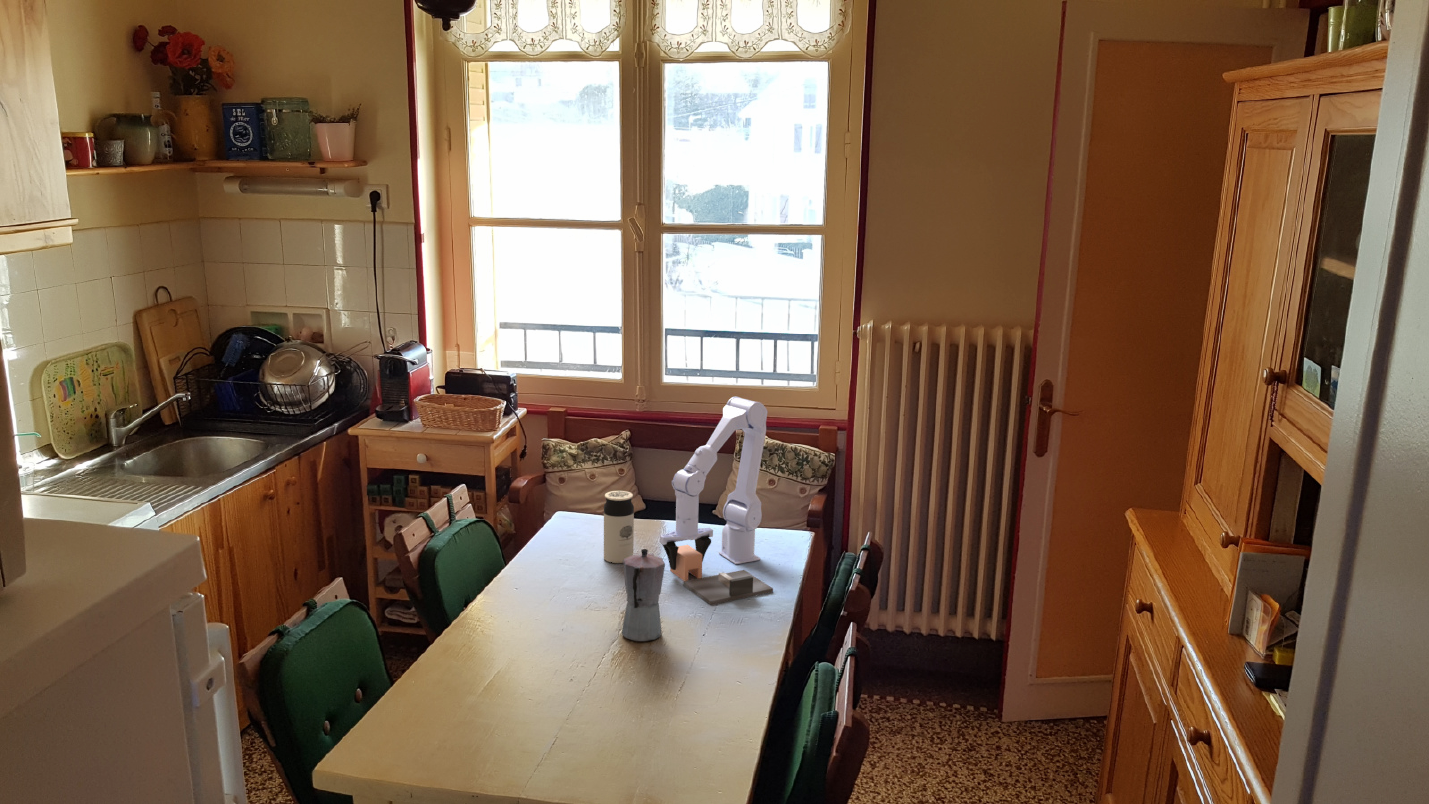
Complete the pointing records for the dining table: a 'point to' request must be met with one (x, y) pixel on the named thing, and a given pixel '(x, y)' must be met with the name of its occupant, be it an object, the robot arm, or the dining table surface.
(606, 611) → the dining table surface
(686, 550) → the slotted block
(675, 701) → the dining table surface
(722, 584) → the rail board
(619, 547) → the travel mug
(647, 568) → the moka pot
